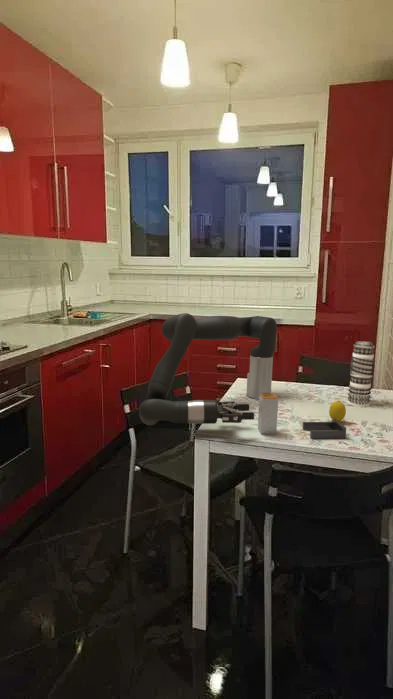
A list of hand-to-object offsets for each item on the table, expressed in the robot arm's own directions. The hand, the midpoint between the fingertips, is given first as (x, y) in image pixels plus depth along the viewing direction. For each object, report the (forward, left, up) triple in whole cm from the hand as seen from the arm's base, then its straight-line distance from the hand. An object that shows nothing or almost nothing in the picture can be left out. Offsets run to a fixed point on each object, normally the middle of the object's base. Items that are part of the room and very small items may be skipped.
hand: (251, 411), depth 147 cm
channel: (+18, +15, -7) cm, 24 cm away
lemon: (+17, +29, -7) cm, 34 cm away
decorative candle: (+14, +57, -7) cm, 59 cm away
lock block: (+4, +4, -7) cm, 9 cm away
